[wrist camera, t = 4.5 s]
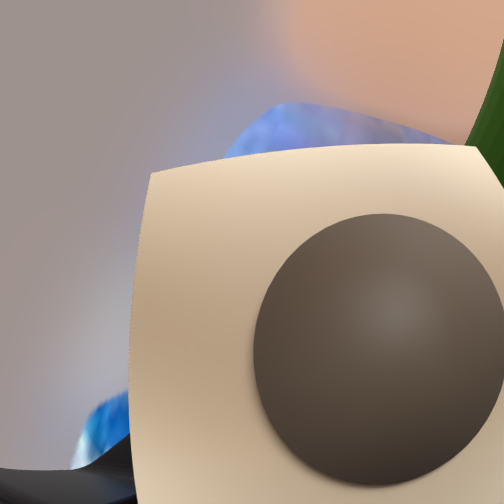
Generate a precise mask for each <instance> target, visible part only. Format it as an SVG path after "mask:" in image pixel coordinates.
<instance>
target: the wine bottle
mask: <svg viewBox="0 0 504 504" xmlns="http://www.w3.org/2000/svg"><path fill="white" fill-rule="evenodd" d="M465 146H474V147H476V148H477V149H478V150H479V152H480V153H481V155H482V156H483V157H484V159H485V160H486V162H487V163H488V165H489V166H490V168H491V169H492V171H493V172H494V174H495V176H496V177H497V179H498V180H499V182H500V184H501V185H502V187H503V189H504V40H503V44H502V48H501V52H500V55H499V59H498V62H497V65H496V68H495V71H494V74H493V77H492V80H491V83H490V86H489V89H488V91H487V94H486V97H485V100H484V102H483V104H482V107H481V109H480V112H479V114H478V117H477V119H476V122H475V124H474V126H473V128H472V130H471V133H470V135H469V137H468V139H467V141H466V143H465Z"/></svg>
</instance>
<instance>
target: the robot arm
mask: <svg viewBox="0 0 504 504" xmlns="http://www.w3.org/2000/svg"><path fill="white" fill-rule="evenodd" d="M0 504H138V500H137V493H136V486H135V479H134V471H133V461H132V451H131V438H130V433H129V434H128V435H127V436H126V437H124V438H123V439H122V440H121V441H119V442H118V443H117V444H116V445H114V446H113V447H112V448H111V449H109V450H108V451H107V452H106V453H104V454H103V455H102V456H100V457H99V458H98V459H96V460H95V461H94V462H92V463H91V464H89V465H87V466H85V467H82V468H78V469H74V470H54V471H53V470H52V471H39V470H38V471H37V470H15V469H5V468H0Z"/></svg>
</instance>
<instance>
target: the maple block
mask: <svg viewBox="0 0 504 504" xmlns="http://www.w3.org/2000/svg"><path fill="white" fill-rule="evenodd" d="M131 307H132V308H131V320H130V338H129V339H130V340H129V381H128V382H129V422H130V438H131V451H132V461H133V471H134V479H135V486H136V493H137V500H138V504H504V189H503V187H502V185H501V184H500V182H499V180H498V179H497V177H496V176H495V174H494V172H493V171H492V169H491V168H490V166H489V165H488V163H487V162H486V160H485V159H484V157H483V156H482V155H481V153H480V152H479V150H478V149H477V148H476V147H474V146H460V145H441V144H365V145H344V146H329V147H316V148H304V149H294V150H285V151H276V152H268V153H260V154H253V155H246V156H239V157H233V158H227V159H220V160H215V161H210V162H203V163H198V164H194V165H188V166H183V167H178V168H173V169H169V170H164V171H159V172H155V173H151V177H150V182H149V187H148V192H147V197H146V202H145V207H144V213H143V219H142V225H141V231H140V237H139V244H138V251H137V259H136V267H135V275H134V285H133V295H132V306H131Z"/></svg>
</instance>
